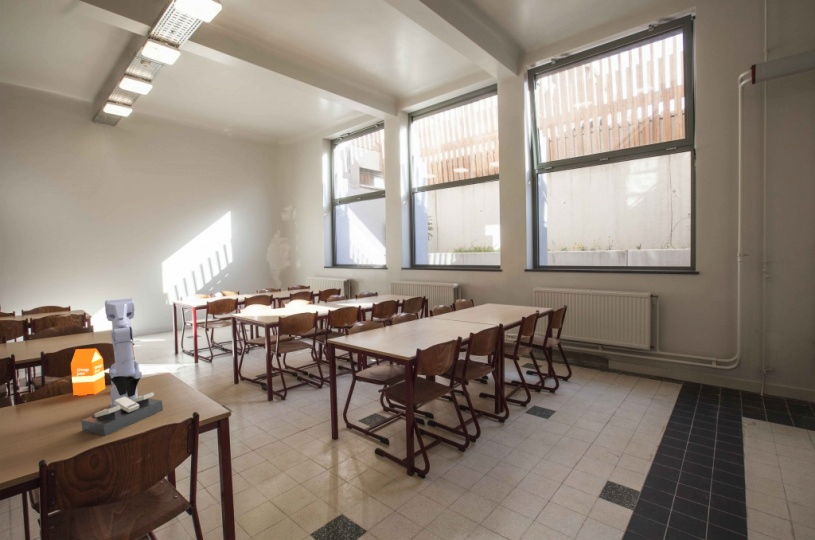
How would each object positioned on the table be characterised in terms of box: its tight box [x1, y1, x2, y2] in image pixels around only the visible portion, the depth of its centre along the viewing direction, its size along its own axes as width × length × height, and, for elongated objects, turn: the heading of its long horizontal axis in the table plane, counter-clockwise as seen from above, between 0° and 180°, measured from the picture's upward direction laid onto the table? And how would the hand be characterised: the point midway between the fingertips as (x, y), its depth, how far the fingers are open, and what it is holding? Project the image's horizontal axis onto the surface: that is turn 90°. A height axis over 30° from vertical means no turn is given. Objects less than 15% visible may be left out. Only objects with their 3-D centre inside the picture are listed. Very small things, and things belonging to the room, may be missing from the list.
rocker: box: [94, 405, 121, 417], centre depth 145 cm, size 8×4×2 cm, turn 69°
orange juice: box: [70, 348, 106, 396], centre depth 182 cm, size 8×9×20 cm
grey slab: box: [80, 397, 164, 437], centre depth 154 cm, size 12×26×5 cm, turn 160°
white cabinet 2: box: [114, 396, 139, 413], centre depth 151 cm, size 8×4×2 cm, turn 70°
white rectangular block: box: [131, 391, 155, 402], centre depth 157 cm, size 8×4×2 cm, turn 69°
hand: (127, 395), depth 150 cm, fingers open, 4 cm apart
